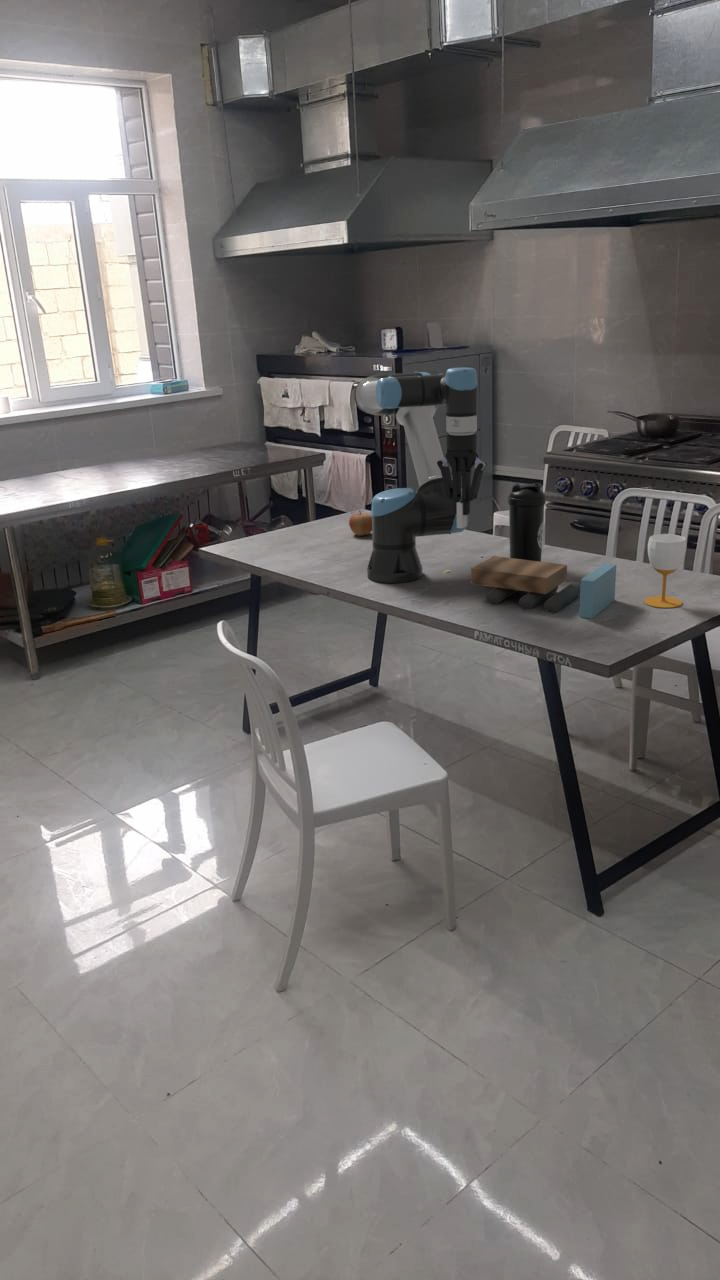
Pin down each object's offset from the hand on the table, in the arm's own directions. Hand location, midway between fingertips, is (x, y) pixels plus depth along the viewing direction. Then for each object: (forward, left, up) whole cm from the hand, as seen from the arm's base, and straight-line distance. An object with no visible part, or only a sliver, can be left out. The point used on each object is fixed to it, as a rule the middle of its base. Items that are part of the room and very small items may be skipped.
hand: (461, 527), depth 245 cm
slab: (+16, 0, -13) cm, 20 cm away
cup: (+49, +11, -17) cm, 53 cm away
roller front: (+28, 0, -13) cm, 31 cm away
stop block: (+36, 0, -17) cm, 40 cm away
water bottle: (+6, +27, -17) cm, 32 cm away
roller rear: (+11, 0, -14) cm, 18 cm away
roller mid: (+22, 0, -13) cm, 26 cm away
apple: (-56, +39, -17) cm, 70 cm away
